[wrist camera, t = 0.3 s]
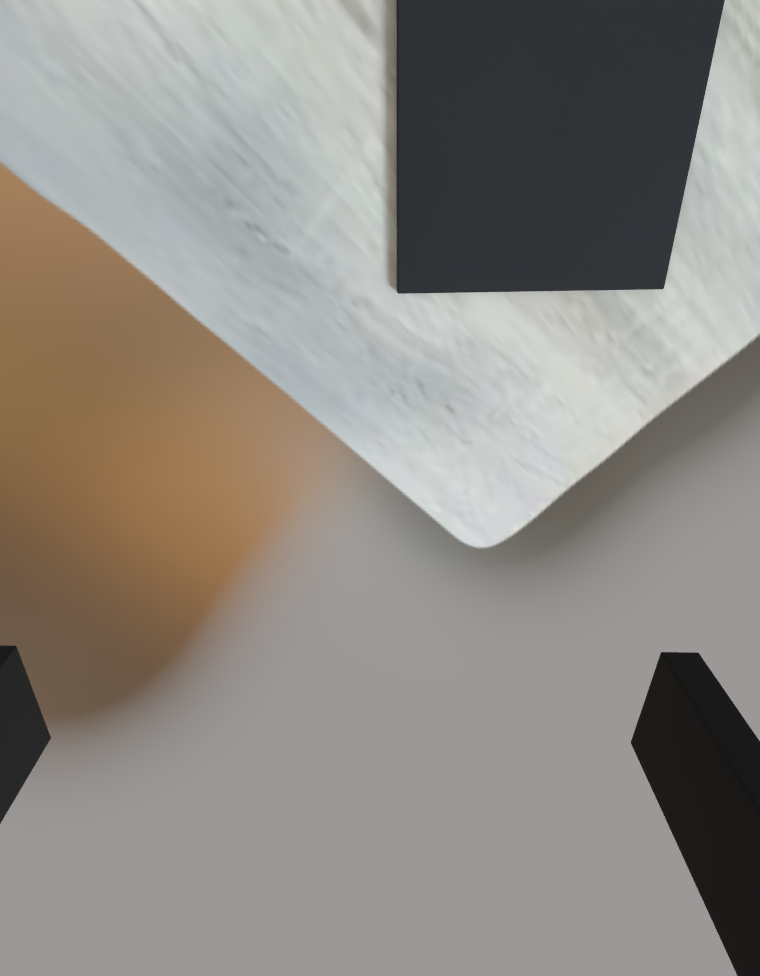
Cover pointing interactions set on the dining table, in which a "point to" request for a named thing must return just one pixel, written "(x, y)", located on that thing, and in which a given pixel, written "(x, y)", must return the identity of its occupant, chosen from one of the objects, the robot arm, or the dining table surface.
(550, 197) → the placemat
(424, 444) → the dining table surface
